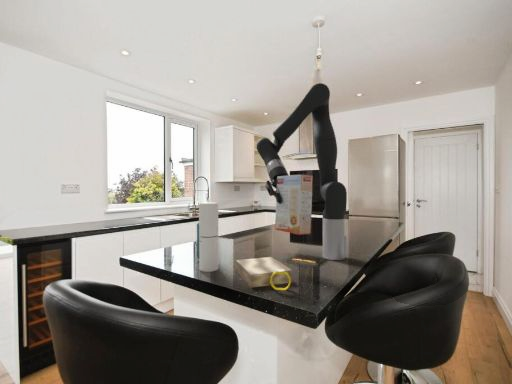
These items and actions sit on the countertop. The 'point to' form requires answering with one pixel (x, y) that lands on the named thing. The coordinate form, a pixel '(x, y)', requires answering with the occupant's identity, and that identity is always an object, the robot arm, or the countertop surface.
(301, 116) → the robot arm
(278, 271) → the yellow ring
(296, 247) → the countertop surface
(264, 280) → the oak plinth
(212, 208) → the cylindrical container
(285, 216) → the cracker box
